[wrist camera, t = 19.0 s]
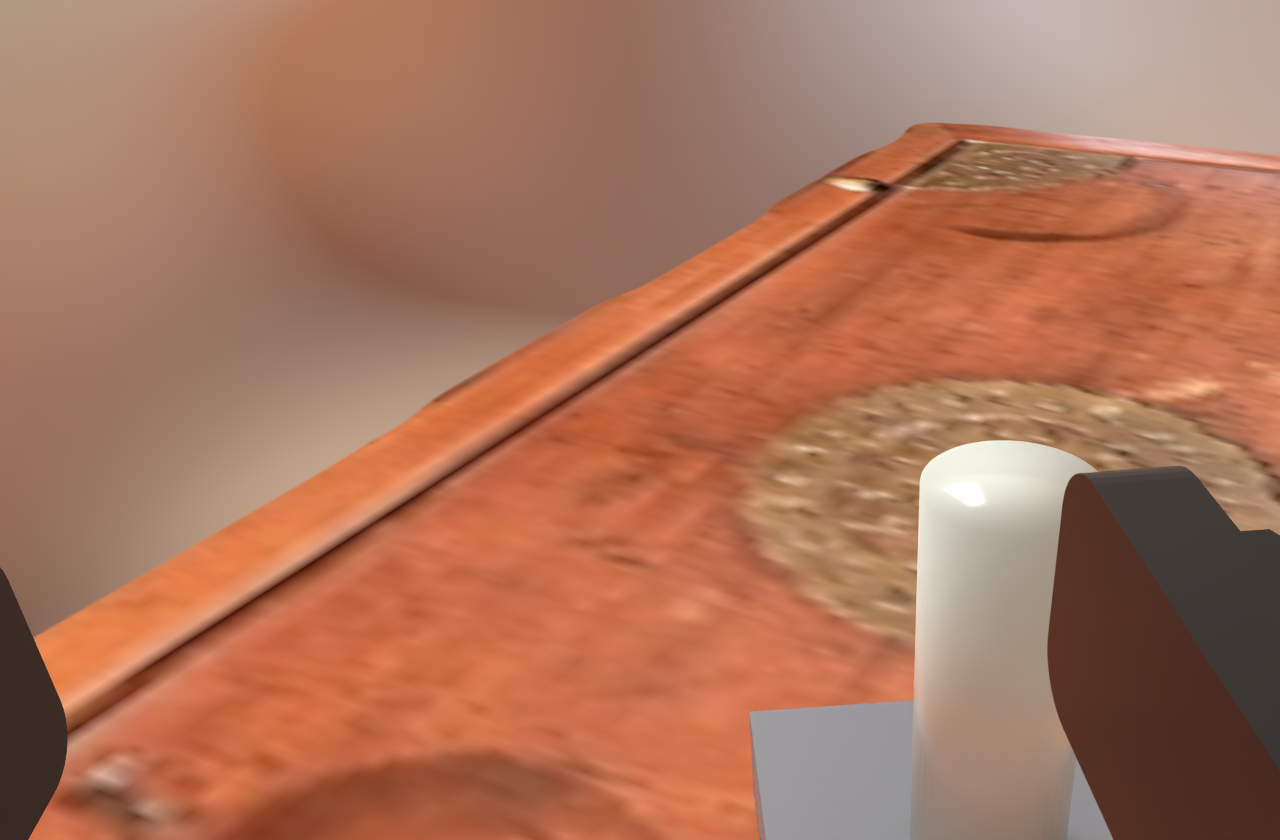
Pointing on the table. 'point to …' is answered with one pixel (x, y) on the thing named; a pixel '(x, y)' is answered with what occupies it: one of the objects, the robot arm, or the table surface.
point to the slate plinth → (854, 775)
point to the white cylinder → (989, 646)
